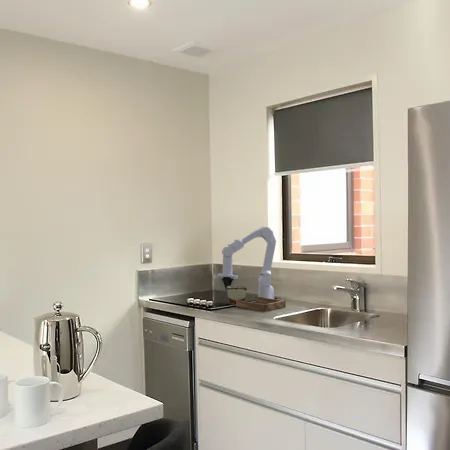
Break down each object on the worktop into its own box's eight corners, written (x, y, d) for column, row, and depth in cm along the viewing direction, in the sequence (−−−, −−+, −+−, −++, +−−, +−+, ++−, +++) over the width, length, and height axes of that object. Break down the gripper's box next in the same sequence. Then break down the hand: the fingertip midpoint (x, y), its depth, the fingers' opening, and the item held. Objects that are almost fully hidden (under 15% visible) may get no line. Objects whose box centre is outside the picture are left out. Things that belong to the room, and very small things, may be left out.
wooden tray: (256, 302, 305) (256, 296, 305) (285, 306, 291) (285, 300, 291) (235, 306, 291) (235, 300, 291) (265, 311, 278) (265, 304, 278)
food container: (248, 302, 305) (248, 285, 305) (247, 304, 299) (247, 287, 299) (227, 302, 307) (227, 285, 306) (226, 304, 300) (226, 286, 300)
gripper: (213, 266, 309) (213, 289, 310) (232, 268, 300) (232, 292, 300) (221, 265, 314) (221, 288, 315) (240, 267, 305) (240, 290, 305)
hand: (227, 290), depth 308 cm, fingers closed
